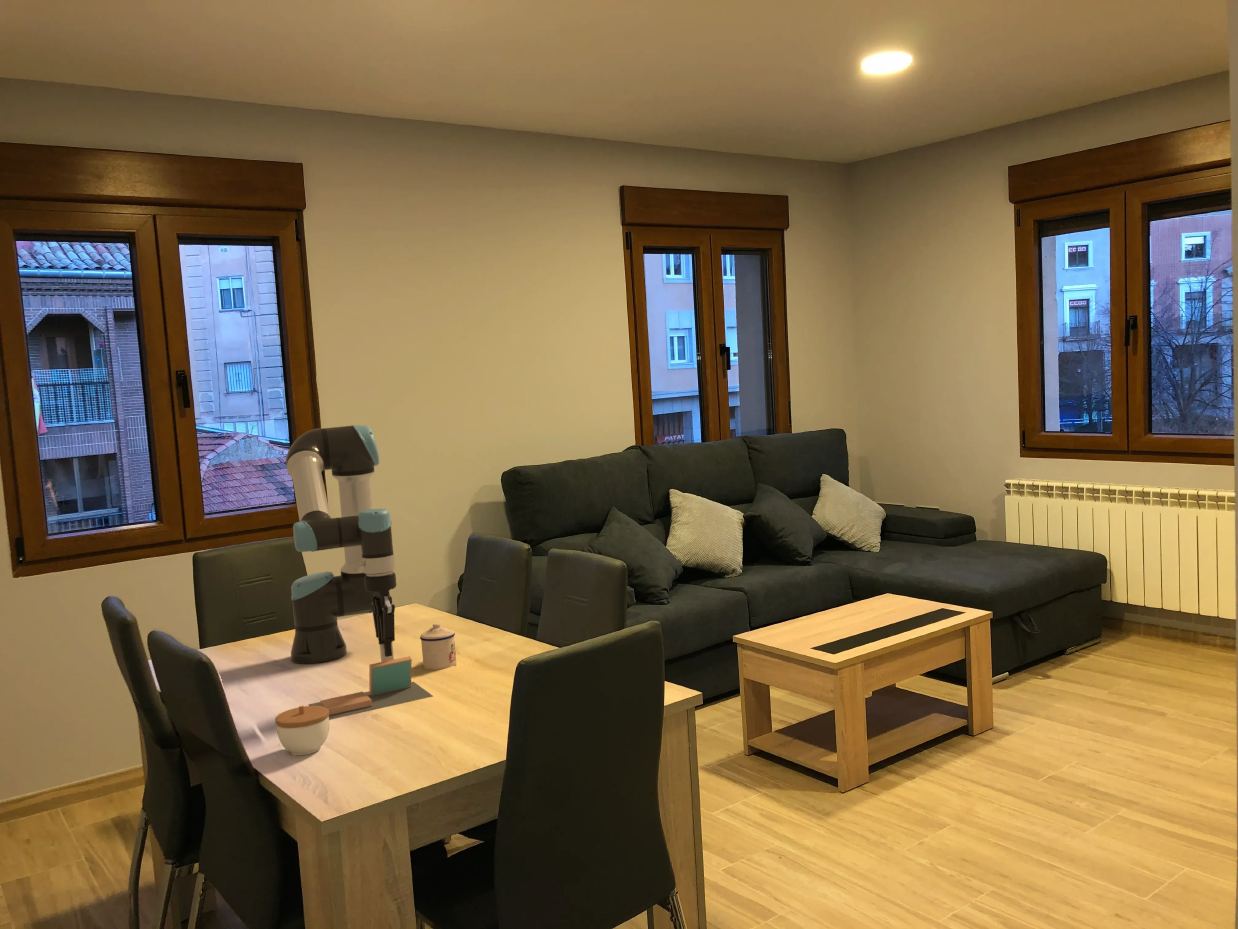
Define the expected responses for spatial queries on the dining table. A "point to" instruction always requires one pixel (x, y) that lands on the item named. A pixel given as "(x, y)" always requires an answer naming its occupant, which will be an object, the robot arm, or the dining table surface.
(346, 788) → the dining table surface
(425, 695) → the mat
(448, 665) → the teacup with lid
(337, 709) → the tile near
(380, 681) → the tile far
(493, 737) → the dining table surface
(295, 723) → the lidded jar
